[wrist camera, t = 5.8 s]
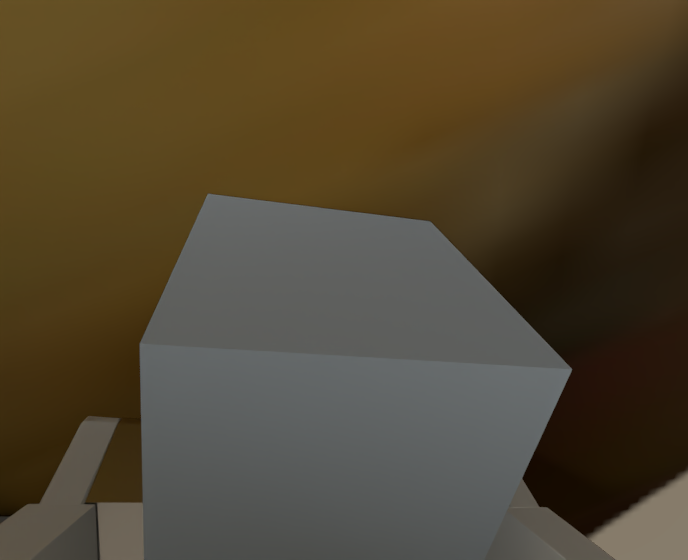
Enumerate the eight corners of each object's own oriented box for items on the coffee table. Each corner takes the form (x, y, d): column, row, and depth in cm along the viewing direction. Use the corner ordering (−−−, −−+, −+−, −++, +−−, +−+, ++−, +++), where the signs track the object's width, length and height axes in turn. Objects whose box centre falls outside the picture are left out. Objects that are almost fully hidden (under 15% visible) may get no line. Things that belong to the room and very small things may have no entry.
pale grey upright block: (208, 194, 8) (140, 344, 4) (430, 221, 8) (571, 370, 4) (193, 516, 11) (148, 780, 7) (354, 514, 12) (396, 749, 8)
